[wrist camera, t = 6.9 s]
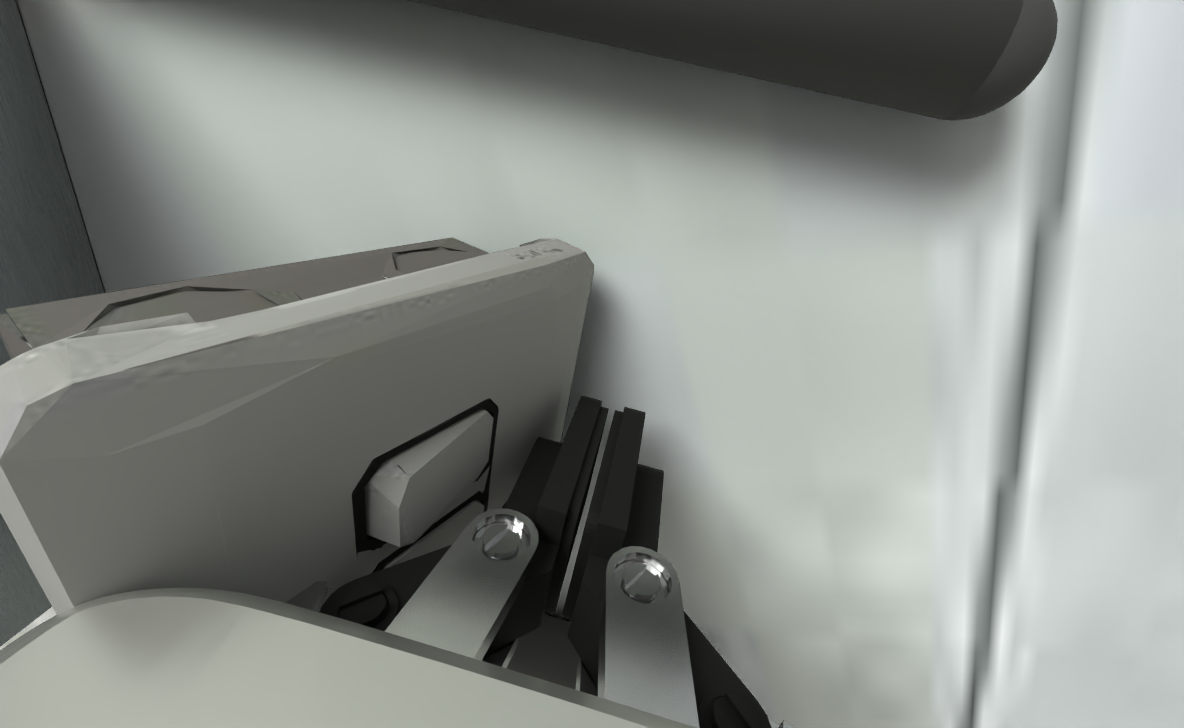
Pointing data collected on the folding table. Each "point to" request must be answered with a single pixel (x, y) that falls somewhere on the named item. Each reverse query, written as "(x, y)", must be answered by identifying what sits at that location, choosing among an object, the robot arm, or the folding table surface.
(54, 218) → the panel
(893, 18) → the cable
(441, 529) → the electrical switch
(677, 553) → the folding table surface
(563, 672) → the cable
